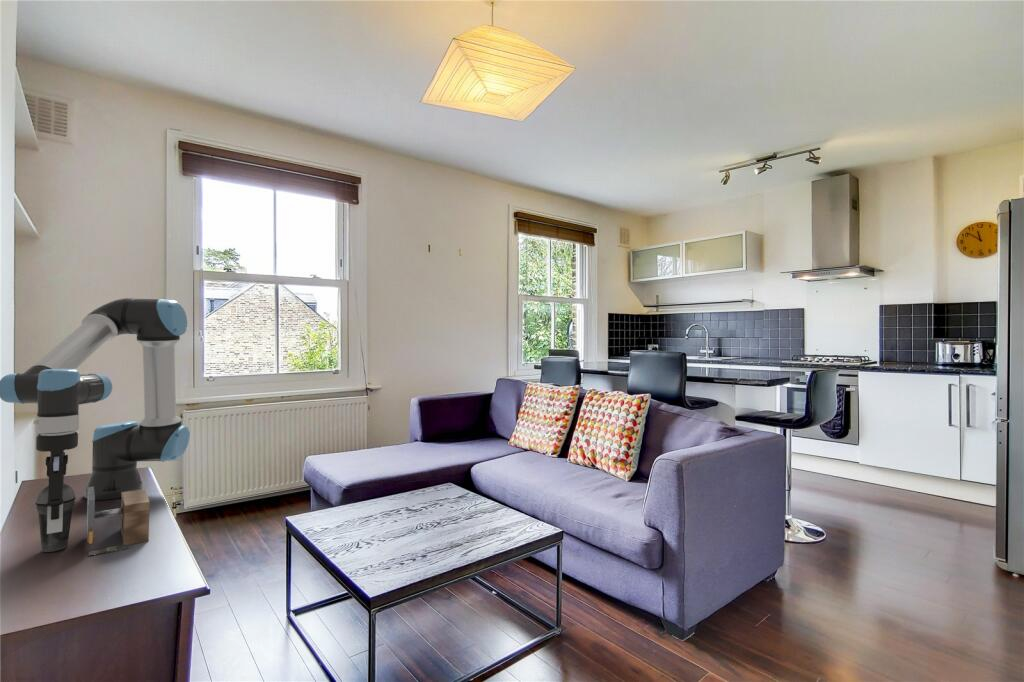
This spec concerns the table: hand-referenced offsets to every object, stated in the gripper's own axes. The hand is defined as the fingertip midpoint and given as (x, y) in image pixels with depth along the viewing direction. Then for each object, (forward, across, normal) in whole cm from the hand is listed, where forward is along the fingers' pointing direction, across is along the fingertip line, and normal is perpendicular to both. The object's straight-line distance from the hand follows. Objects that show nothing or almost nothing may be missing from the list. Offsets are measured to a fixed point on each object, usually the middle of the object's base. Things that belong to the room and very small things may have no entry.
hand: (55, 527), depth 122 cm
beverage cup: (+5, 0, 0) cm, 5 cm away
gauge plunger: (+3, +1, +11) cm, 11 cm away
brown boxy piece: (+5, +2, +12) cm, 13 cm away
